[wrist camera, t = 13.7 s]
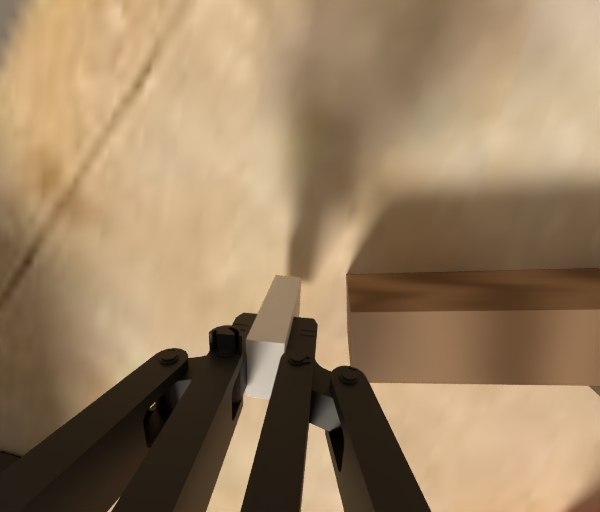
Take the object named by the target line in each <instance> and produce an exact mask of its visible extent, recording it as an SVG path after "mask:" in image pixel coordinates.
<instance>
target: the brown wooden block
mask: <svg viewBox="0 0 600 512" xmlns="http://www.w3.org/2000/svg"><path fill="white" fill-rule="evenodd" d="M346 285H347V331H348V344H349V356H350V366H351V367H354V368H357V369H359V370H360V371H362V372H363V373H364V375H365V376H366V377H367V380H368V382H369V383H433V384H507V385H581V386H600V269H598V268H583V269H543V270H504V271H464V272H425V273H386V274H346Z"/></svg>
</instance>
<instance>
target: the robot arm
mask: <svg viewBox="0 0 600 512" xmlns="http://www.w3.org/2000/svg"><path fill="white" fill-rule="evenodd" d="M300 292H301V277H291V276H280V275H275V278H274V280H273V282H272V284H271V286H270V288H269V291H268V293H267V295H266V297H265V299H264V301H263V304H262V306H261V308H260V310H259V312H258V314H252V313H242V314H241V315H239V316H238V317H236V319H235V321H234V322H233V325H232V326H231V325H228V326H220V327H216V328H214V329H212V330H211V331H210V332H209V345H210V351H209V353H208V354H207V355H206V356H202V357H195V358H188V354H187V353H186V351H184V350H182V349H177V348H172V349H166V350H163V351H161V352H159V353H157V354H155V355H154V356H153V357H151V358H150V359H149V360H148V361H146V362H145V363H144V364H142V365H141V366H140V367H138V368H137V369H136V370H135V371H133V372H132V373H131V374H129V375H128V376H127V377H125V378H124V379H123V380H122V381H120V382H119V383H118V384H116V385H115V386H114V387H112V388H111V389H110V390H109V391H107V392H106V393H105V394H103V395H102V396H101V397H99V398H98V399H97V400H96V401H94V402H93V403H92V404H90V405H89V406H88V407H86V408H85V409H84V410H83V411H81V412H80V413H79V414H77V415H76V416H75V417H73V418H72V419H71V420H70V421H68V422H67V423H66V424H64V425H63V426H62V427H60V428H59V429H58V430H56V431H55V432H54V433H53V434H51V435H50V436H49V437H47V438H46V439H45V440H43V441H42V442H41V443H40V444H38V445H37V446H36V447H34V448H33V449H32V450H30V451H29V452H28V453H27V454H25V455H24V456H23V457H21V458H19V457H16V456H13V455H9V454H5V453H0V512H107V511H108V510H109V509H110V508H111V507H112V505H113V504H114V503H115V502H116V501H117V500H118V499H119V500H118V502H117V503H116V505H115V507H114V508H113V510H112V511H111V512H206V510H207V507H208V504H209V501H210V498H211V495H212V493H213V490H214V487H215V484H216V481H217V478H218V475H219V473H220V470H221V467H222V464H223V461H224V458H225V456H226V453H227V450H228V447H229V444H230V441H231V438H232V436H233V433H234V430H235V427H236V424H237V421H238V418H239V416H240V413H241V410H242V407H243V394H244V391H245V389H246V397H253V398H262V399H270V400H269V404H268V408H267V412H266V416H265V419H264V423H263V427H262V431H261V435H260V439H259V443H258V446H257V450H256V454H255V458H254V462H253V466H252V469H251V473H250V477H249V481H248V485H247V489H246V492H245V496H244V500H243V504H242V508H241V512H301V503H302V492H303V482H304V471H305V460H306V450H307V439H308V430H309V423H311V424H313V425H316V426H318V427H320V428H323V429H325V435H326V439H327V443H328V447H329V451H330V455H331V459H332V463H333V467H334V471H335V475H336V479H337V484H338V488H339V492H340V496H341V500H342V504H343V508H344V512H431V510H430V508H429V506H428V504H427V502H426V500H425V498H424V496H423V494H422V491H421V489H420V487H419V485H418V483H417V481H416V479H415V477H414V475H413V473H412V471H411V469H410V467H409V465H408V462H407V460H406V458H405V456H404V454H403V452H402V450H401V448H400V446H399V444H398V442H397V440H396V438H395V436H394V433H393V431H392V429H391V427H390V425H389V423H388V421H387V419H386V417H385V415H384V413H383V411H382V409H381V407H380V404H379V402H378V400H377V398H376V396H375V394H374V392H373V390H372V388H371V386H370V384H369V382H368V380H367V377H366V376H365V375H364V373H363V372H362V371H360V370H359V369H357V368H354V367H351V366H340V367H337V368H335V369H334V370H333V371H332V372H331V371H328V370H326V369H324V368H322V367H321V366H319V365H318V363H317V362H316V360H315V351H316V338H317V326H318V325H317V323H316V321H315V320H314V319H311V318H301V317H299V310H300ZM154 403H155V404H154ZM153 404H154V405H153ZM152 405H153V406H152ZM150 406H152V407H151V408H150ZM120 496H121V497H120ZM119 497H120V498H119Z"/></svg>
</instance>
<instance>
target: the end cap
mask: <svg viewBox="0 0 600 512" xmlns="http://www.w3.org/2000/svg"><path fill="white" fill-rule="evenodd" d="M589 387H590V388H592V389H593V390H594V391H595V392H596V393H597V394H598V395H599V396H600V386H589Z"/></svg>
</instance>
